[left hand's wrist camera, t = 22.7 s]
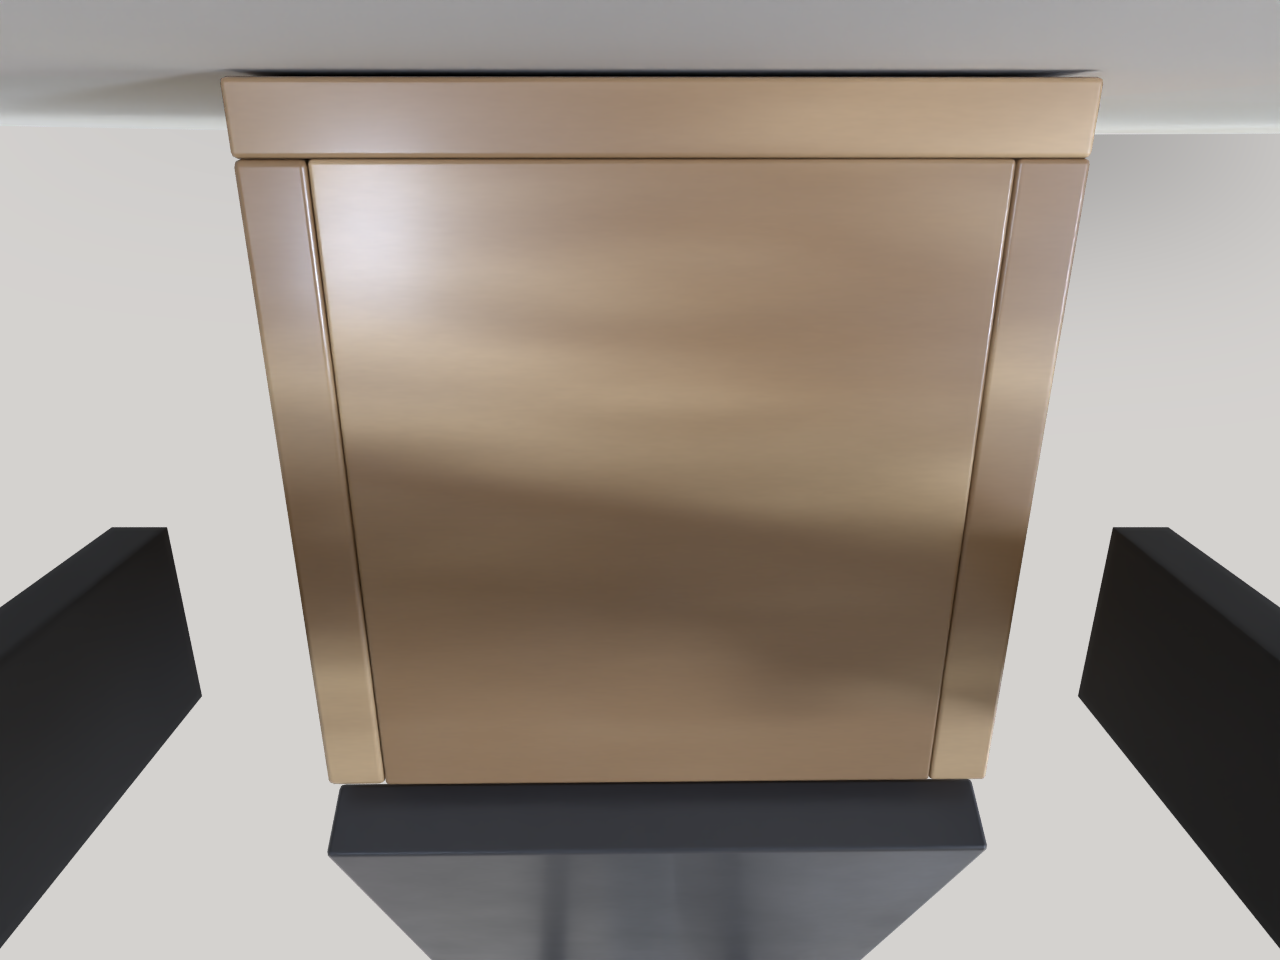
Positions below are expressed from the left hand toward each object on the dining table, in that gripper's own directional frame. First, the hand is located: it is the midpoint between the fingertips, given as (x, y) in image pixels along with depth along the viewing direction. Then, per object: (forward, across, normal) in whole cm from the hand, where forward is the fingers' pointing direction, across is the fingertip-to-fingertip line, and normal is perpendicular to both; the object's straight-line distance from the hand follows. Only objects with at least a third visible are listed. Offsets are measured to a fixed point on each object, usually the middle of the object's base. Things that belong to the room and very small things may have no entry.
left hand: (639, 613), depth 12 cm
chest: (+7, 0, -7) cm, 10 cm away
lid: (+4, 0, +10) cm, 11 cm away
